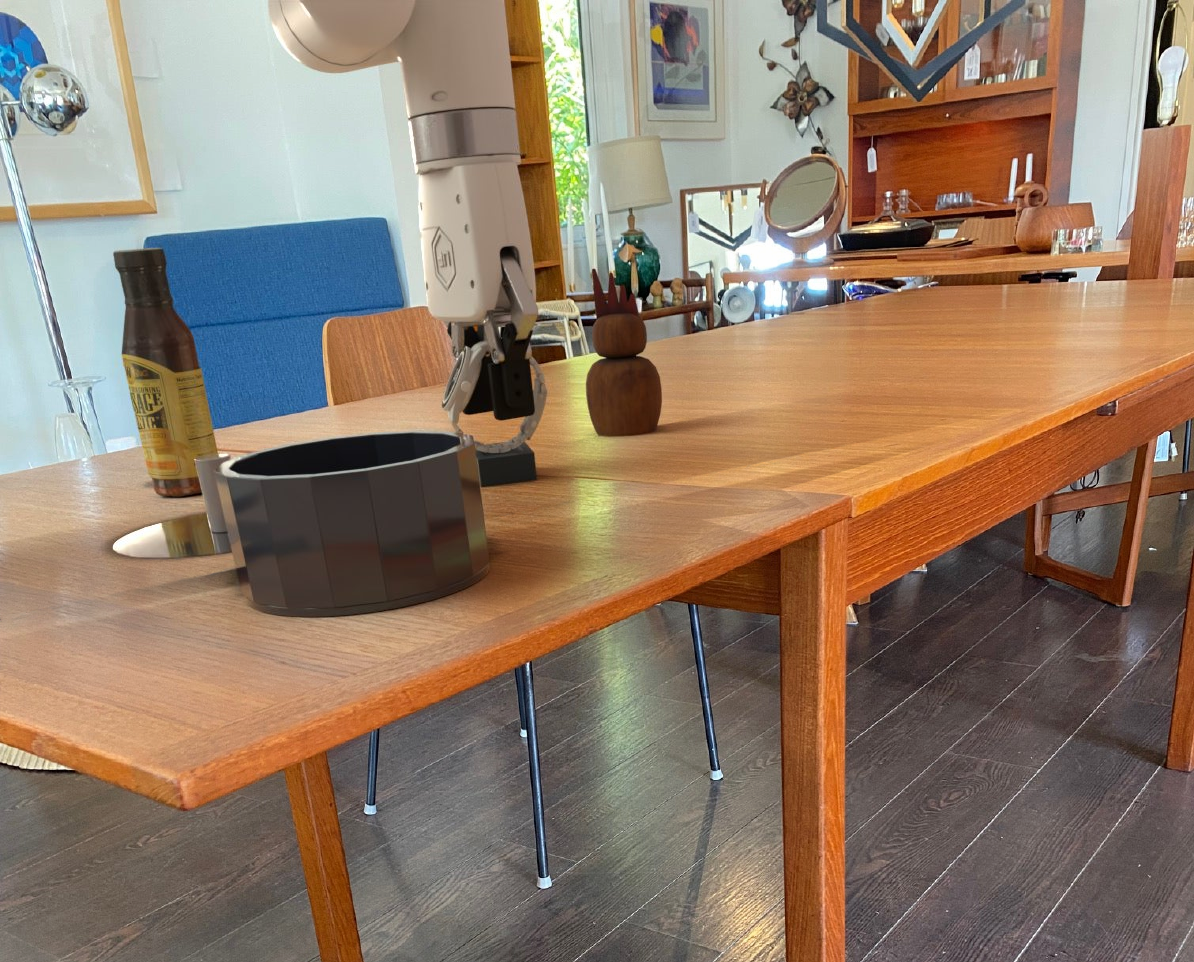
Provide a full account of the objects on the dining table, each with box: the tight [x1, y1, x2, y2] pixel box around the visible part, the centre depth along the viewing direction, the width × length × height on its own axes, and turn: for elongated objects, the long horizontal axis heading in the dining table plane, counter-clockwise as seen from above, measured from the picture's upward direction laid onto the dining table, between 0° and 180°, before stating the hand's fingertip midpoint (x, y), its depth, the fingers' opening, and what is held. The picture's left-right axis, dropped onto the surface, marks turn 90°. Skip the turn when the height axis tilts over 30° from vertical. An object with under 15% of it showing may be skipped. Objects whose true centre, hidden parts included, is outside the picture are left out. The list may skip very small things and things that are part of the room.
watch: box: [441, 340, 548, 488], centre depth 89 cm, size 6×8×11 cm
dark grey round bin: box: [214, 429, 491, 618], centre depth 68 cm, size 15×15×8 cm
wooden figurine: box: [585, 268, 663, 437], centre depth 105 cm, size 7×6×15 cm
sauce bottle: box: [112, 247, 219, 498], centre depth 100 cm, size 6×6×20 cm
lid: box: [112, 453, 232, 560], centre depth 81 cm, size 16×16×6 cm
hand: (498, 412), depth 89 cm, fingers closed on watch, 5 cm apart
